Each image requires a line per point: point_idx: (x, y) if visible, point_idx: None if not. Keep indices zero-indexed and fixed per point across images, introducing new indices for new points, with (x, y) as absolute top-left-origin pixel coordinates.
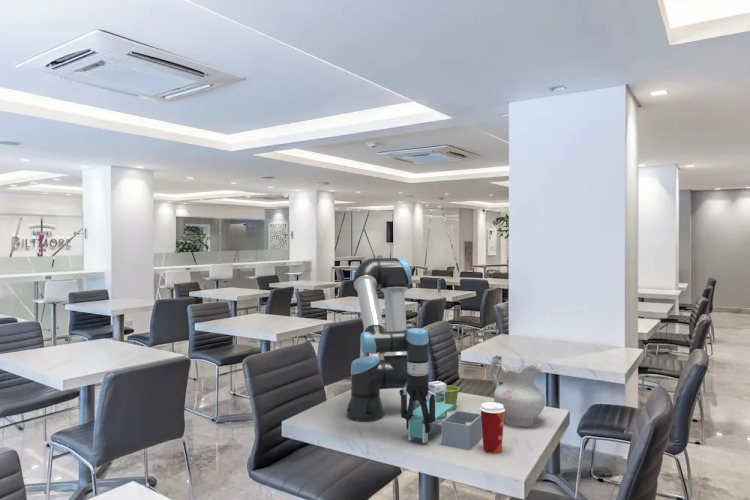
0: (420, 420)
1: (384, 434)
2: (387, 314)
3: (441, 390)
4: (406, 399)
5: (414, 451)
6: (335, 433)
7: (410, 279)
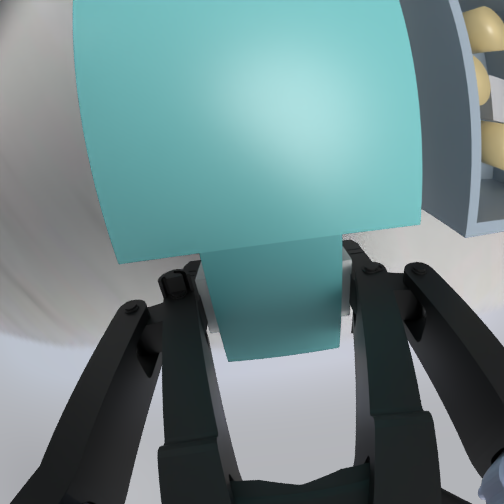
0: (324, 341)
1: (73, 247)
2: None
3: None
4: (95, 444)
5: None
6: (5, 329)
7: None
